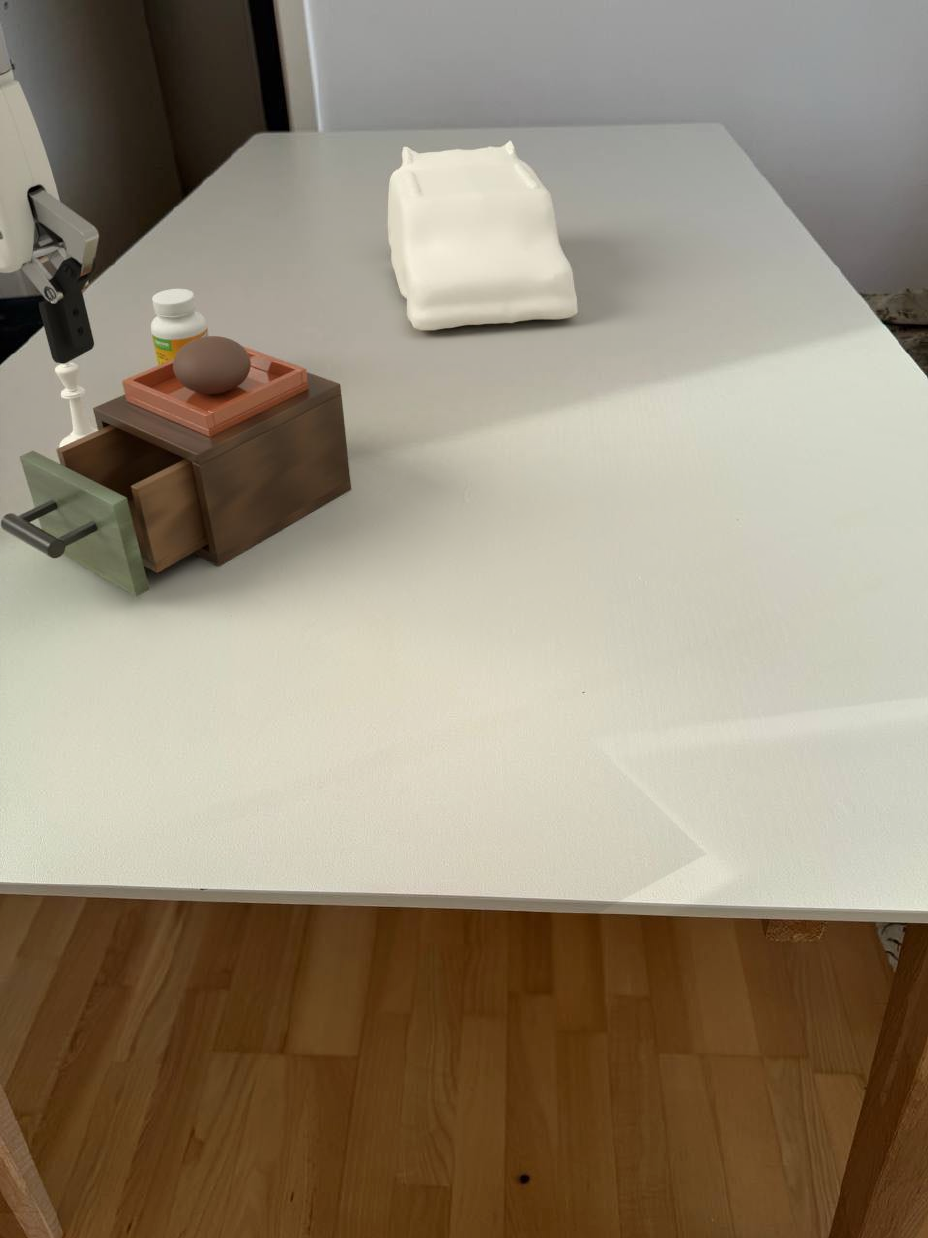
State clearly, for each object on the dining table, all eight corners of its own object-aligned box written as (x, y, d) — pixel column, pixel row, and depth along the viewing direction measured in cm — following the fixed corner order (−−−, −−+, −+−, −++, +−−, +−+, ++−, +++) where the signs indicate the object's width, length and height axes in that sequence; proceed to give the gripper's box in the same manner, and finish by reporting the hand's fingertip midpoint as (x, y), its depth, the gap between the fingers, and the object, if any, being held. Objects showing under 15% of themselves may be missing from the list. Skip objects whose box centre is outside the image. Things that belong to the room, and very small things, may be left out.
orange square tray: (210, 437, 81) (206, 415, 80) (126, 401, 87) (121, 380, 86) (308, 389, 88) (306, 368, 87) (225, 358, 93) (221, 338, 92)
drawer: (88, 624, 78) (60, 530, 73) (-2, 568, 84) (-32, 478, 79) (273, 518, 89) (259, 431, 84) (181, 476, 95) (164, 392, 90)
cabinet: (219, 566, 85) (197, 454, 79) (119, 514, 92) (92, 407, 86) (351, 489, 94) (340, 383, 88) (251, 446, 101) (235, 345, 95)
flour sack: (529, 240, 145) (530, 132, 137) (582, 326, 121) (587, 201, 113) (385, 251, 143) (378, 142, 135) (411, 341, 119) (403, 215, 111)
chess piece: (48, 456, 100) (19, 353, 94) (82, 432, 104) (56, 332, 98) (92, 465, 99) (65, 361, 93) (125, 440, 102) (101, 339, 96)
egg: (265, 393, 86) (258, 344, 83) (193, 412, 83) (183, 362, 81) (237, 366, 90) (229, 319, 88) (167, 384, 88) (158, 336, 85)
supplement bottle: (155, 399, 109) (135, 305, 104) (175, 376, 114) (157, 284, 108) (206, 402, 109) (189, 307, 103) (224, 378, 113) (209, 286, 107)
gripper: (-222, 59, 63) (-120, 344, 73) (1, 78, 56) (79, 388, 66) (-115, 37, 68) (-33, 306, 78) (100, 53, 62) (158, 343, 72)
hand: (18, 343), depth 72 cm, fingers open, 9 cm apart
